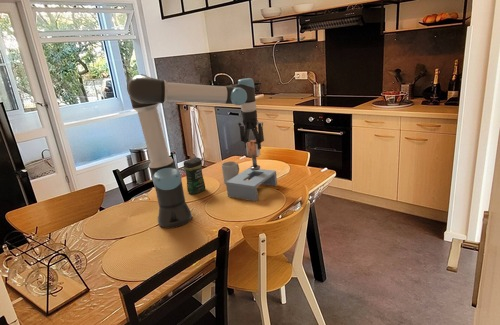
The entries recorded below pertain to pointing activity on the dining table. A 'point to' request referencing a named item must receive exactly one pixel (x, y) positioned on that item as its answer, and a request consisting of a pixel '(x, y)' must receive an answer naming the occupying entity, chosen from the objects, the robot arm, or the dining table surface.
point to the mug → (229, 170)
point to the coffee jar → (194, 175)
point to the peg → (253, 154)
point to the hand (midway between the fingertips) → (253, 154)
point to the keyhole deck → (250, 183)
